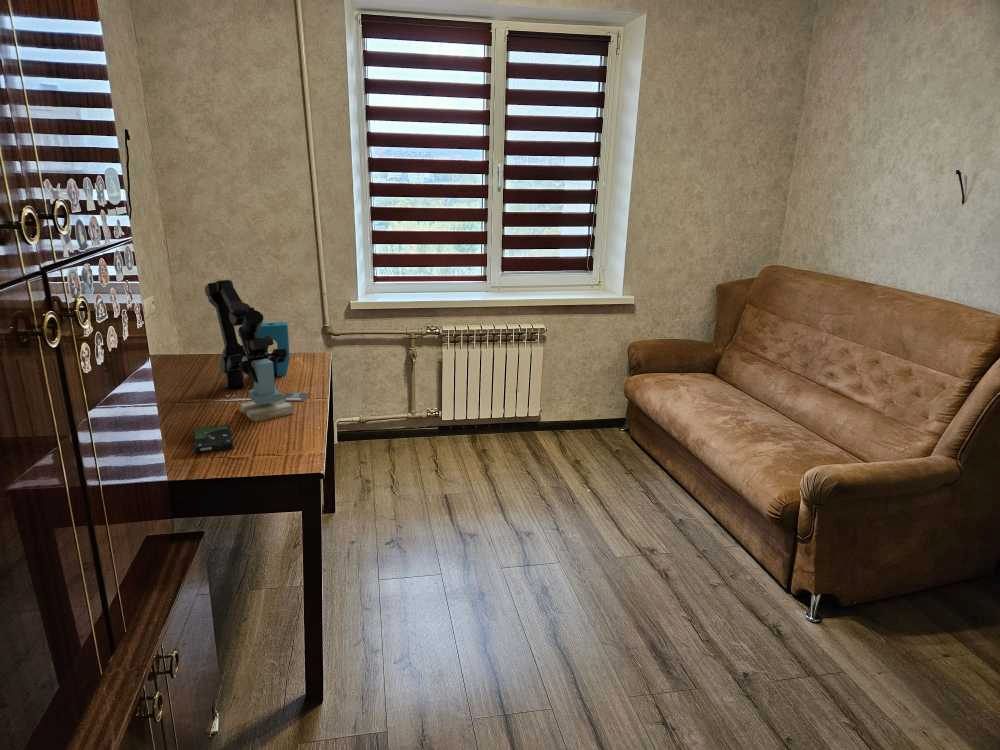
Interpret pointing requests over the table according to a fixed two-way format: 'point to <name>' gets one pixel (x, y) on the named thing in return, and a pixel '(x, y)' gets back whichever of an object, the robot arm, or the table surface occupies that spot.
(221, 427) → the disk drive
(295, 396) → the slate card
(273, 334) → the block
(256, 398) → the teal block
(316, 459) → the table surface
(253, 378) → the robot arm
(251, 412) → the cream base block
